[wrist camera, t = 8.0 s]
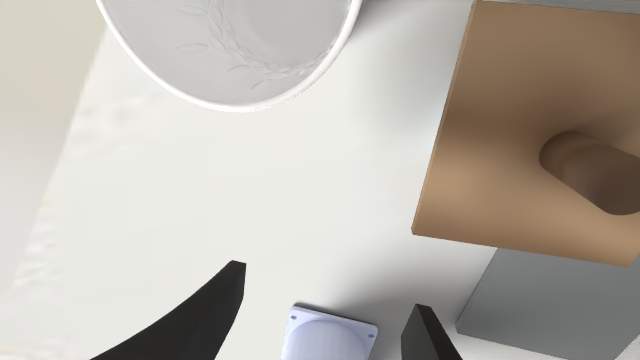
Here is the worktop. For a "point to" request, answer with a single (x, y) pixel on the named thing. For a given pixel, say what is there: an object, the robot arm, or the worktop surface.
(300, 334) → the robot arm
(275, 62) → the white cup
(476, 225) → the lid
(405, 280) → the worktop surface
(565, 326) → the mat
